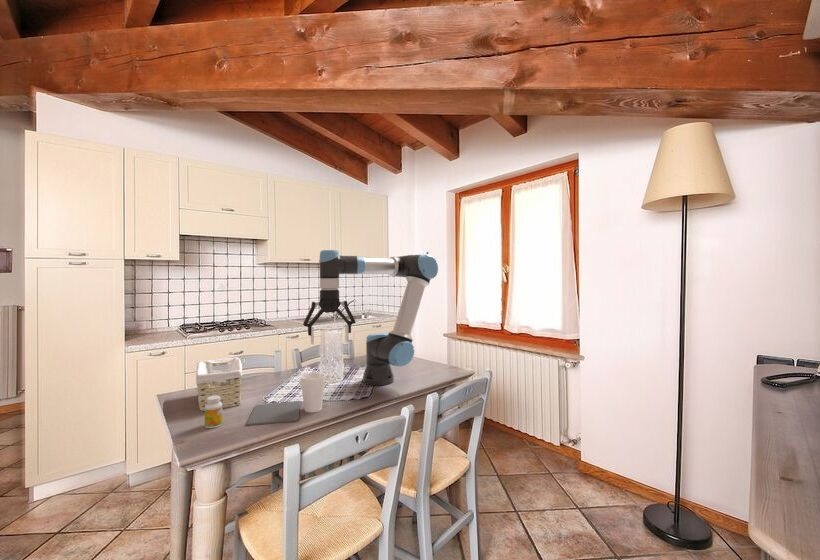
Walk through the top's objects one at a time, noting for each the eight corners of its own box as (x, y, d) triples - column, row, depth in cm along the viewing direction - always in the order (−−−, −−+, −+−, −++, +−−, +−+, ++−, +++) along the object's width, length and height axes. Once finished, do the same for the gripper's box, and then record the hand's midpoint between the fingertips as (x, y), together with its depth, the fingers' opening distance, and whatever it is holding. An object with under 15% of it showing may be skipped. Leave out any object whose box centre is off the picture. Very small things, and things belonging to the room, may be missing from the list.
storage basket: (243, 406, 140) (242, 369, 140) (195, 414, 133) (194, 374, 132) (240, 388, 161) (240, 356, 161) (198, 394, 154) (198, 360, 153)
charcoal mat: (300, 402, 144) (300, 401, 144) (298, 420, 127) (298, 419, 127) (255, 406, 140) (255, 404, 140) (246, 425, 123) (246, 424, 123)
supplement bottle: (201, 428, 121) (200, 399, 120) (212, 421, 126) (212, 394, 126) (215, 429, 120) (214, 400, 119) (226, 422, 125) (225, 395, 125)
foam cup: (295, 411, 136) (295, 377, 135) (312, 403, 144) (312, 371, 144) (314, 415, 131) (314, 380, 131) (330, 407, 139) (330, 374, 139)
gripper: (358, 288, 149) (358, 338, 149) (296, 289, 140) (296, 342, 141) (362, 289, 142) (362, 341, 142) (297, 290, 133) (297, 346, 134)
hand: (329, 342), depth 142 cm, fingers open, 13 cm apart
